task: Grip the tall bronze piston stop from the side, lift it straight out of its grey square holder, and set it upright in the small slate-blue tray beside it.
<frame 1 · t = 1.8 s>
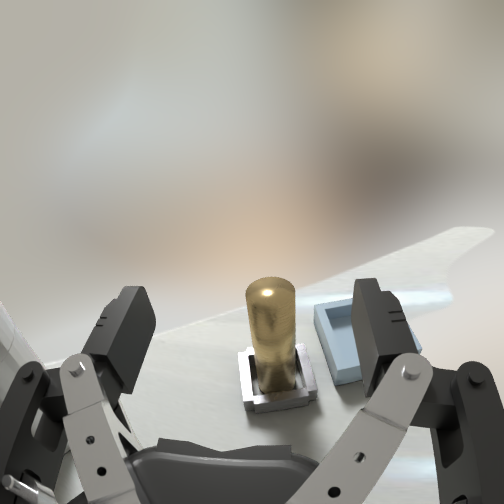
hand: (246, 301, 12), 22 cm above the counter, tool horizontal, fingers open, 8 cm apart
tray: (363, 343, 36), on the counter
grey square holder: (276, 381, 33), on the counter
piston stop: (274, 344, 30), in the grey square holder
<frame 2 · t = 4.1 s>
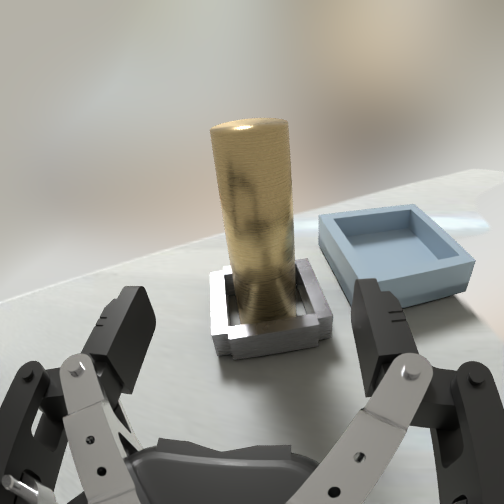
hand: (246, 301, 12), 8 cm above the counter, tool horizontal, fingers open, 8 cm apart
tray: (389, 266, 26), on the counter
grey square holder: (267, 313, 23), on the counter
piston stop: (260, 234, 19), in the grey square holder
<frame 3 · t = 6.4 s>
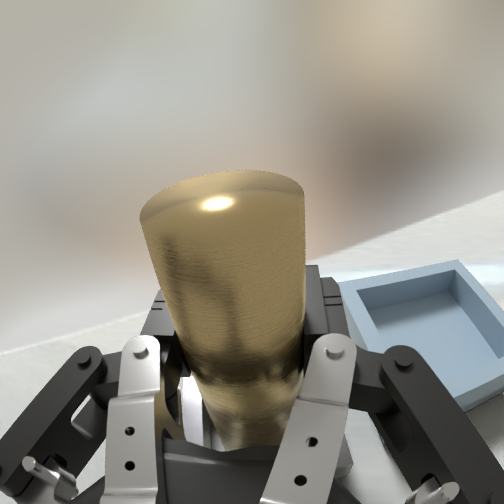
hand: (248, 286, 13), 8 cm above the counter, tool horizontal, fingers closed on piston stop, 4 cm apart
tray: (426, 353, 18), on the counter
grey square holder: (262, 437, 15), on the counter
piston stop: (248, 366, 11), in the grey square holder, touching gripper
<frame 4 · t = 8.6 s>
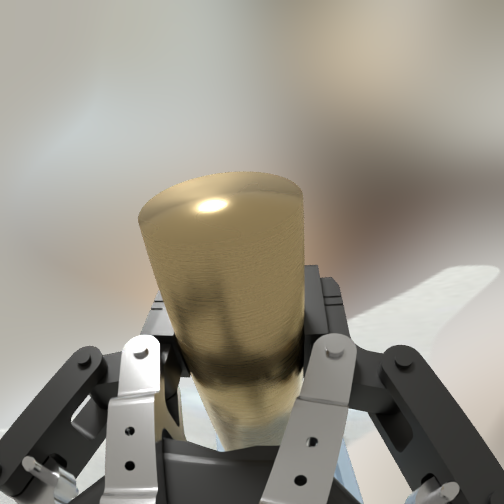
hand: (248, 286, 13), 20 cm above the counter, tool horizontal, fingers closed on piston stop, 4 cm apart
tray: (284, 474, 22), on the counter
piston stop: (247, 367, 11), point 18 cm above the counter, touching gripper
when the fingers open (10 cm above the counter, at t = 11.0 s): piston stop stays where it is, resting on tray.
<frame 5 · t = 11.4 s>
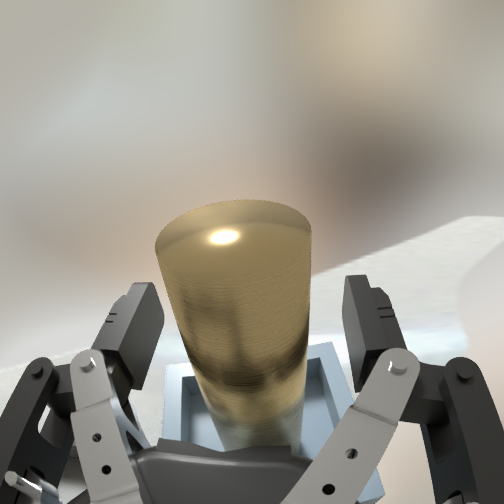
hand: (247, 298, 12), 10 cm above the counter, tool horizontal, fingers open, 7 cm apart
tray: (263, 450, 16), on the counter
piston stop: (253, 381, 12), in the tray, point 8 cm above the counter
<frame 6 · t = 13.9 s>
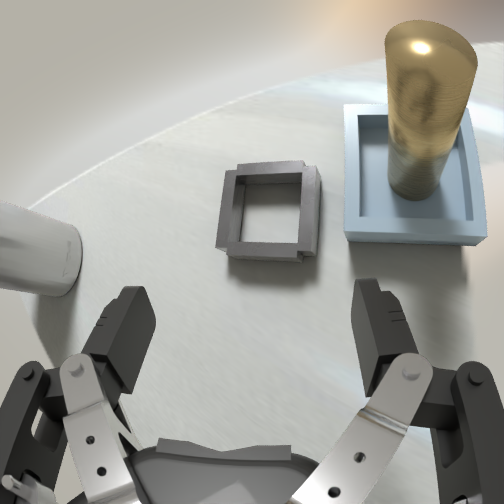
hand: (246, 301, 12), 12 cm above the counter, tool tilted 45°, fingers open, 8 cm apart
tray: (411, 179, 22), on the counter
grey square holder: (273, 214, 26), on the counter
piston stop: (421, 129, 15), in the tray, point 8 cm above the counter
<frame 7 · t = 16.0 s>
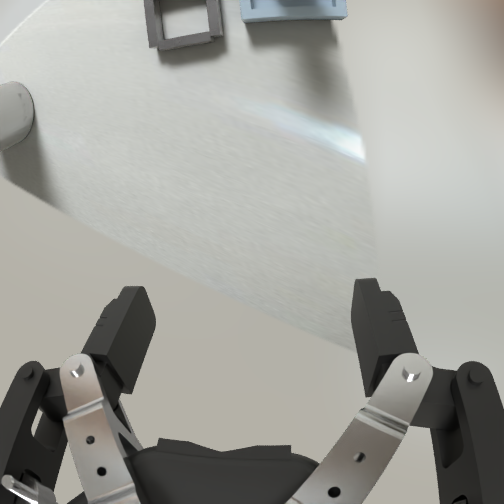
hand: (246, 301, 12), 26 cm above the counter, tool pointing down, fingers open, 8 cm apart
grey square holder: (185, 15, 26), on the counter
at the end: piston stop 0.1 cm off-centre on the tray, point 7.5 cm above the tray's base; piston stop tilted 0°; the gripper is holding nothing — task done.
